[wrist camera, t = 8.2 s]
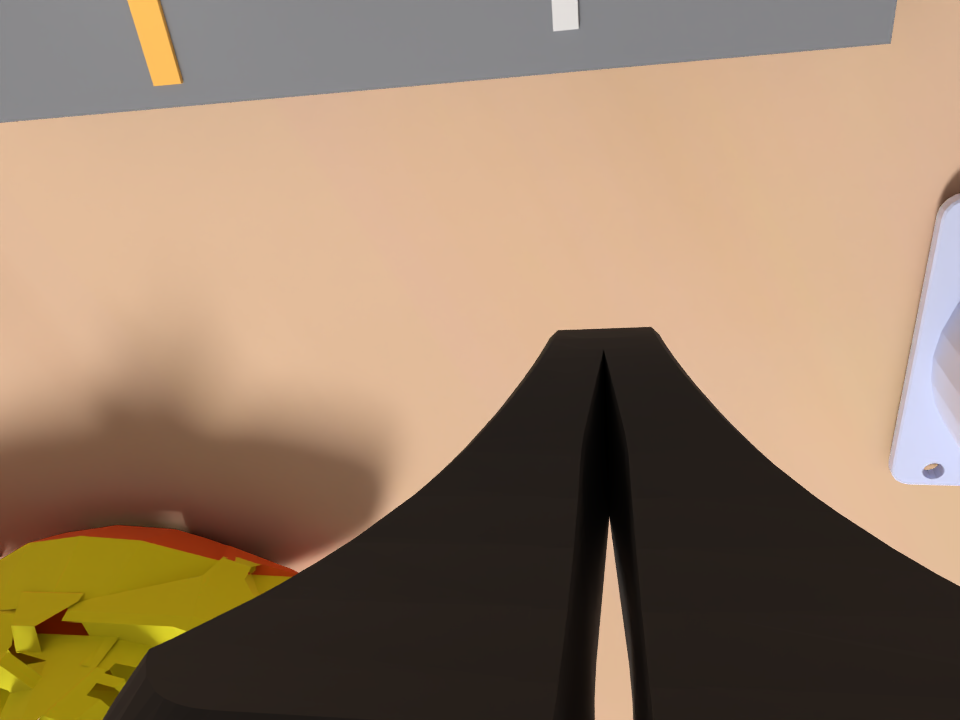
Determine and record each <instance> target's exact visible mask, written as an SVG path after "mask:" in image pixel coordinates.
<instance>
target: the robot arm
mask: <svg viewBox="0 0 960 720" xmlns="http://www.w3.org/2000/svg"><path fill="white" fill-rule="evenodd" d="M933 463H937V464H938V466H937V467H935V468H933V469H930V470H924V467H925V466H927V465H929V464H933ZM889 469H890V471H891V473H892V475H893V477H894V478H895V480H897V481H899V482H901V483H904V484H916V485H952V486H960V193H959V194H955V195H954V196H952V197H950V198H948V199H947V200H946V201H945V202H944V203H943V204H942V205H941V206H940V208H939V211H938V213H937V216H936V221H935V227H934V232H933V237H932V242H931V247H930V252H929V257H928V262H927V268H926V273H925V278H924V283H923V288H922V293H921V298H920V303H919V309H918V314H917V319H916V324H915V329H914V334H913V339H912V344H911V350H910V355H909V360H908V365H907V370H906V375H905V380H904V385H903V391H902V396H901V401H900V406H899V411H898V416H897V421H896V426H895V432H894V437H893V442H892V447H891V452H890V457H889ZM609 517H610V525H611V532H612V540H613V547H614V555H615V562H616V570H617V577H618V585H619V592H620V599H621V607H622V614H623V622H624V629H625V636H626V644H627V651H628V659H629V667H630V678H631V689H632V700H633V720H960V586H958V585H956V584H954V583H952V582H950V581H949V580H947V579H945V578H943V577H941V576H939V575H937V574H936V573H934V572H932V571H931V570H929V569H927V568H925V567H924V566H922V565H920V564H919V563H917V562H915V561H914V560H912V559H910V558H908V557H907V556H905V555H903V554H902V553H900V552H898V551H896V550H895V549H893V548H892V547H890V546H888V545H887V544H885V543H884V542H882V541H881V540H879V539H878V538H876V537H875V536H873V535H871V534H870V533H868V532H867V531H865V530H864V529H862V528H861V527H859V526H858V525H856V524H855V523H853V522H851V521H850V520H848V519H847V518H845V517H844V516H842V515H841V514H839V513H838V512H836V511H835V510H833V509H832V508H831V507H829V506H828V505H826V504H825V503H824V502H822V501H821V500H819V499H818V498H817V497H815V496H814V495H812V494H811V493H810V492H808V491H807V490H806V489H805V488H803V487H802V486H801V485H800V484H798V483H797V482H796V481H795V480H793V479H792V478H791V477H789V476H788V475H787V474H786V473H784V472H783V471H782V470H781V469H779V468H778V467H777V466H775V465H774V464H773V463H772V462H771V461H770V460H769V459H767V458H766V457H765V456H764V455H763V454H762V453H761V452H760V451H759V450H757V449H756V448H755V447H754V446H753V445H752V444H751V443H750V442H749V441H748V440H747V439H746V438H745V437H744V436H743V435H742V434H741V433H740V432H739V431H738V430H737V429H736V428H735V427H734V426H733V425H732V424H731V423H730V422H729V421H728V420H727V419H726V418H725V417H724V416H723V415H722V414H721V413H720V412H719V411H718V409H717V408H716V407H715V406H714V405H713V404H712V403H711V402H710V400H709V399H708V398H707V397H706V396H705V395H704V394H703V393H702V391H701V390H700V389H699V388H698V387H697V386H696V385H695V383H694V382H693V381H692V380H691V378H690V377H689V376H688V375H687V373H686V372H685V371H684V370H683V368H682V367H681V366H680V364H679V363H678V362H677V360H676V359H675V358H674V356H673V355H672V354H671V352H670V351H669V349H668V348H667V346H666V345H665V343H664V342H663V340H662V338H661V337H660V335H659V334H658V333H657V332H656V331H655V330H654V329H653V328H652V327H638V328H610V329H582V330H558V331H557V332H556V333H555V334H554V335H553V336H552V337H551V338H550V339H549V341H548V342H547V344H546V346H545V347H544V349H543V351H542V352H541V354H540V355H539V357H538V358H537V360H536V361H535V363H534V364H533V366H532V367H531V369H530V370H529V372H528V373H527V374H526V376H525V377H524V379H523V380H522V381H521V383H520V384H519V385H518V387H517V388H516V389H515V390H514V392H513V393H512V394H511V396H510V397H509V398H508V399H507V401H506V402H505V403H504V405H503V406H502V407H501V408H500V410H499V411H498V412H497V413H496V414H495V416H494V417H493V418H492V419H491V420H490V421H489V422H488V423H487V424H486V426H485V427H484V428H483V429H482V430H481V431H480V432H479V433H478V434H477V436H476V437H475V438H474V439H473V440H472V441H471V442H470V443H469V444H468V445H467V447H466V448H465V449H464V450H463V451H462V452H461V453H460V454H459V455H458V456H457V457H456V458H455V459H454V460H453V461H452V462H451V463H450V464H448V465H447V466H446V467H445V468H444V469H443V470H442V471H441V472H440V473H439V474H438V475H437V476H436V477H434V478H433V479H432V480H431V481H430V482H429V483H428V484H427V485H425V486H424V487H423V488H422V489H421V490H420V491H418V492H417V493H416V494H415V495H413V496H412V497H411V498H409V499H408V500H407V501H405V502H404V503H403V504H401V505H400V506H398V507H397V508H396V509H394V510H393V511H392V512H390V513H389V514H388V515H386V516H385V517H383V518H382V519H381V520H379V521H378V522H377V523H375V524H374V525H373V526H371V527H370V528H368V529H367V530H366V531H364V532H363V533H362V534H360V535H359V536H357V537H356V538H354V539H353V540H351V541H350V542H348V543H347V544H345V545H344V546H342V547H341V548H339V549H337V550H336V551H334V552H333V553H331V554H329V555H328V556H326V557H325V558H323V559H322V560H320V561H318V562H317V563H315V564H313V565H312V566H310V567H308V568H306V569H305V570H303V571H301V572H300V573H298V574H296V575H294V576H293V577H291V578H289V579H288V580H286V581H284V582H282V583H281V584H279V585H277V586H275V587H273V588H272V589H270V590H268V591H266V592H264V593H262V594H261V595H259V596H257V597H255V598H253V599H251V600H249V601H247V602H245V603H243V604H241V605H239V606H237V607H235V608H233V609H231V610H229V611H227V612H225V613H223V614H221V615H219V616H217V617H215V618H213V619H211V620H209V621H207V622H205V623H203V624H201V625H199V626H197V627H195V628H193V629H191V630H188V631H186V632H184V633H182V634H180V635H178V636H176V637H174V638H172V639H170V640H168V641H166V642H163V643H161V644H159V645H157V646H155V647H152V648H150V649H149V650H148V651H147V653H146V654H145V656H144V657H143V659H142V660H141V661H140V663H139V664H138V666H137V667H136V669H135V670H134V672H133V673H132V675H131V676H130V678H129V679H128V681H127V682H126V684H125V685H124V686H123V688H122V689H121V691H120V692H119V694H118V695H117V697H116V698H115V700H114V701H113V703H112V705H111V706H110V708H109V710H108V711H107V713H106V715H105V716H104V718H103V720H595V708H594V697H595V676H596V659H597V648H598V637H599V626H600V615H601V604H602V593H603V582H604V571H605V560H606V549H607V538H608V526H609Z"/></svg>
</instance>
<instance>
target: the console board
mask: <svg viewBox="0 0 960 720" xmlns="http://www.w3.org/2000/svg"><path fill="white" fill-rule="evenodd" d="M896 4H897V0H0V123H2V122H14V121H25V120H36V119H47V118H59V117H70V116H81V115H92V114H104V113H115V112H126V111H137V110H149V109H160V108H171V107H182V106H194V105H205V104H216V103H227V102H239V101H250V100H261V99H272V98H284V97H295V96H306V95H317V94H329V93H340V92H351V91H362V90H374V89H385V88H396V87H407V86H419V85H430V84H441V83H452V82H463V81H475V80H486V79H497V78H508V77H520V76H531V75H542V74H553V73H565V72H576V71H587V70H598V69H610V68H621V67H632V66H643V65H655V64H666V63H677V62H688V61H700V60H711V59H722V58H733V57H745V56H756V55H767V54H778V53H790V52H801V51H812V50H823V49H835V48H846V47H857V46H868V45H880V44H891V38H892V31H893V24H894V17H895V10H896Z"/></svg>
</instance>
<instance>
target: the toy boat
mask: <svg viewBox="0 0 960 720" xmlns="http://www.w3.org/2000/svg"><path fill="white" fill-rule="evenodd" d="M296 574H298V572H296V571H294V570H292V569H290V568H287V567H284V566H282V565H279V564H276V563H274V562H271V561H269V560H266V559H263V558H261V557H258V556H255V555H253V554H250V553H248V552H245V551H242V550H240V549H237V548H234V547H232V546H229V545H228V546H226V545H224V544H221V543H218V542H216V541H213V540H210V539H207V538H204V537H200V536H197V535H193V534H190V533H187V532H183V531H180V530H177V529H166V528H152V527H138V526H124V525H114V526H107V527H100V528H94V529H87V530H80V531H73V532H67V533H62V534H59V535H55V536H52V537H48V538H44V539H41V540H37V541H34V542H30V543H27V544H26V545H24V546H22V547H21V548H19V549H17V550H16V551H14V552H12V553H11V554H9V555H7V556H6V557H4V558H2V559H1V560H0V720H37V719H38V718H40V719H39V720H103V718H104V716H105V715H106V713H107V711H108V710H109V708H110V706H111V705H112V703H113V701H114V700H115V698H116V697H117V695H118V694H119V692H120V691H121V689H122V688H123V686H124V685H125V684H126V682H127V681H128V679H129V678H130V676H131V675H132V673H133V672H134V670H135V669H136V667H137V666H138V664H139V663H140V661H141V660H142V659H143V657H144V656H145V654H146V653H147V651H148V650H149V649H150V648H152V647H155V646H157V645H159V644H161V643H163V642H166V641H168V640H170V639H172V638H174V637H176V636H178V635H180V634H182V633H184V632H186V631H188V630H191V629H193V628H195V627H197V626H199V625H201V624H203V623H205V622H207V621H209V620H211V619H213V618H215V617H217V616H219V615H221V614H223V613H225V612H227V611H229V610H231V609H233V608H235V607H237V606H239V605H241V604H243V603H245V602H247V601H249V600H251V599H253V598H255V597H257V596H259V595H261V594H262V593H264V592H266V591H268V590H270V589H272V588H273V587H275V586H277V585H279V584H281V583H282V582H284V581H286V580H288V579H289V578H291V577H293V576H294V575H296Z"/></svg>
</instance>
